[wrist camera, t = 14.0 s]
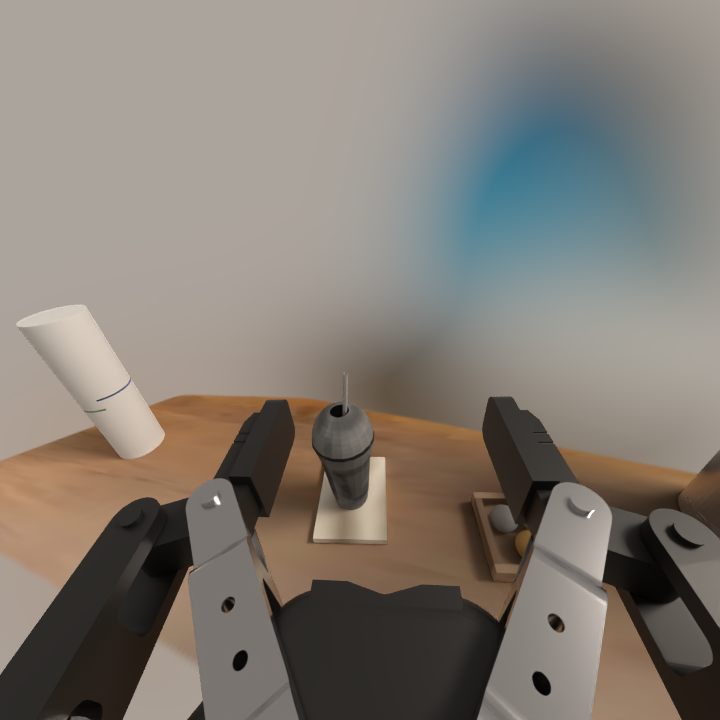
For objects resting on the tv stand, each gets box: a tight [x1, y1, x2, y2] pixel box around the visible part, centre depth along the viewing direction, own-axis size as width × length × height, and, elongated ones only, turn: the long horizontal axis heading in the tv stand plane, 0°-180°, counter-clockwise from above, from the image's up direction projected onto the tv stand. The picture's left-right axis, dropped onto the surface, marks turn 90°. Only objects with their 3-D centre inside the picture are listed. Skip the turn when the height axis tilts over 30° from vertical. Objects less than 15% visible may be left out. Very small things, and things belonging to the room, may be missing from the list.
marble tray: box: [471, 492, 531, 582], centre depth 34 cm, size 9×9×4 cm
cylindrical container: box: [16, 305, 165, 459], centre depth 45 cm, size 7×7×25 cm
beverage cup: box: [312, 373, 374, 510], centre depth 34 cm, size 7×7×20 cm
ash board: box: [313, 457, 387, 544], centre depth 40 cm, size 9×12×1 cm
